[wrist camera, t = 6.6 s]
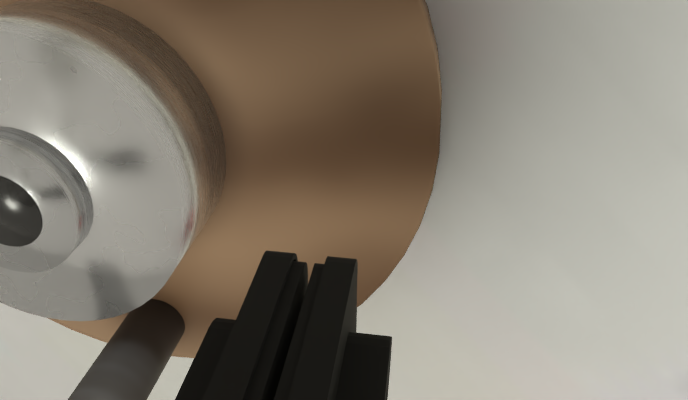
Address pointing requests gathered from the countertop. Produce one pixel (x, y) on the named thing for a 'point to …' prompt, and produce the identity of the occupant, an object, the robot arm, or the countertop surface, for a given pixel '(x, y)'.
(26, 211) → the cover
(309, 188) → the turntable
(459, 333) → the countertop surface
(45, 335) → the countertop surface
